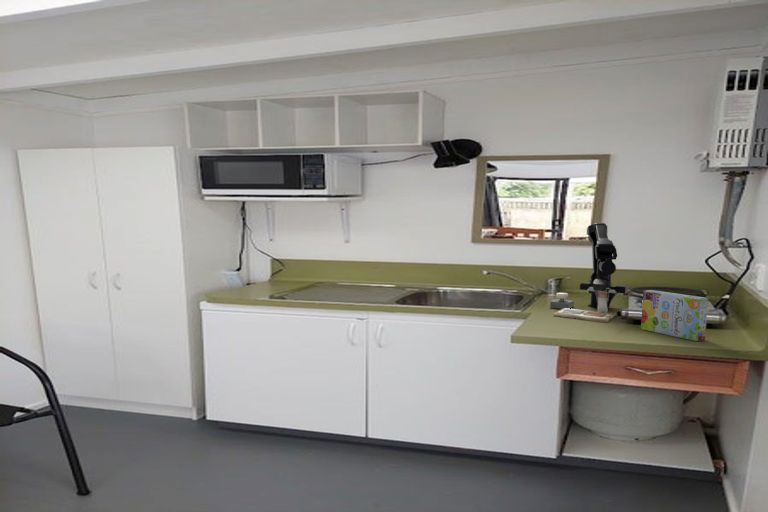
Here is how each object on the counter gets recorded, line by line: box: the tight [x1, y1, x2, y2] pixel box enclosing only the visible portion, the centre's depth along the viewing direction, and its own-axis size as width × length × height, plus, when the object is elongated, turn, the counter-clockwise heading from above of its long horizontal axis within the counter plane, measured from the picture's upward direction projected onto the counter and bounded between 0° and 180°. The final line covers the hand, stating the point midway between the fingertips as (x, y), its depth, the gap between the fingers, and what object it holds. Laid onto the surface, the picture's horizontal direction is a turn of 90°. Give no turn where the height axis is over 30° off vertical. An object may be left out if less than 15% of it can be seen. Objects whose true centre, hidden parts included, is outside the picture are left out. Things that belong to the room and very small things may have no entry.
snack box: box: [640, 289, 709, 342], centre depth 183 cm, size 21×6×15 cm, turn 30°
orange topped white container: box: [596, 292, 609, 313], centre depth 221 cm, size 4×4×9 cm
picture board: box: [553, 308, 616, 323], centre depth 215 cm, size 15×21×1 cm
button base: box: [549, 298, 575, 310], centre depth 233 cm, size 8×8×3 cm
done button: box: [555, 292, 569, 302], centre depth 232 cm, size 5×5×5 cm
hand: (602, 307), depth 221 cm, fingers open, 4 cm apart
